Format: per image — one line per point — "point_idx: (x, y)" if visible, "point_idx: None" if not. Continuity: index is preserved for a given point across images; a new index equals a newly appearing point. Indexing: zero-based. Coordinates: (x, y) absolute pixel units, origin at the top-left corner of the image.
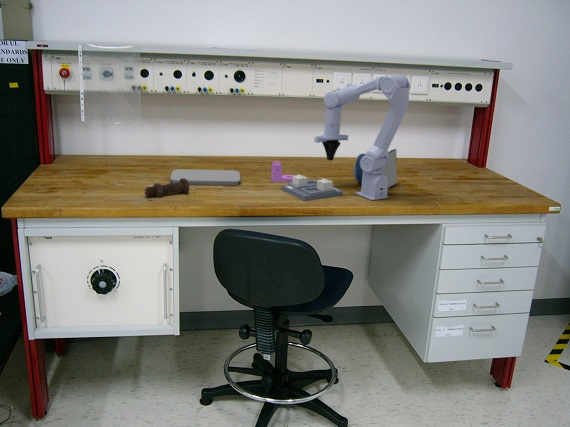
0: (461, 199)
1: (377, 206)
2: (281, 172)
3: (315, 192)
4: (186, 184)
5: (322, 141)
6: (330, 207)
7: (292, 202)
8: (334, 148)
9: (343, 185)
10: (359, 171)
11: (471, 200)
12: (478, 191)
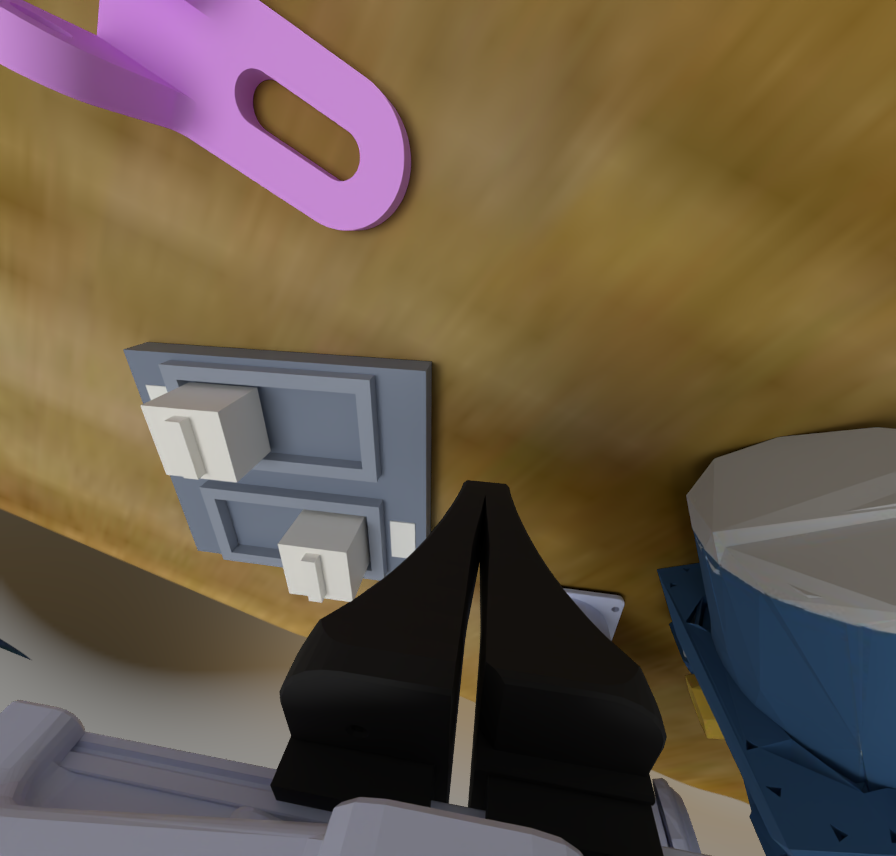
0: None
1: (462, 693)
2: (126, 113)
3: (254, 562)
4: None
5: (190, 781)
6: (284, 625)
7: (156, 525)
8: (475, 708)
9: (584, 446)
10: (706, 575)
11: None
12: None
